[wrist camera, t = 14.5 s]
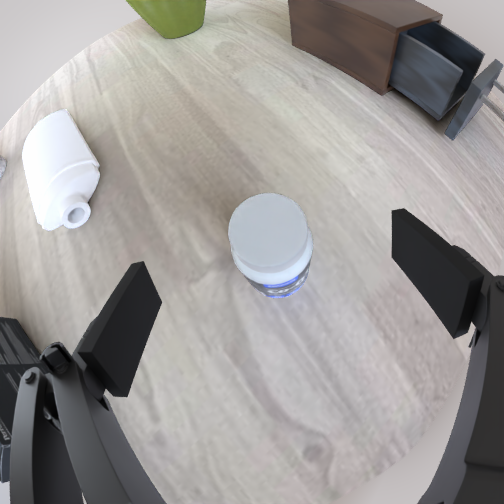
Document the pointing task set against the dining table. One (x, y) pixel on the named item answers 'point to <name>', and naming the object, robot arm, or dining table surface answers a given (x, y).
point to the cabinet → (356, 34)
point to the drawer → (443, 74)
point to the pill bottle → (271, 243)
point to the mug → (2, 166)
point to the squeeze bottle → (59, 171)
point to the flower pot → (171, 15)
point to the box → (12, 382)
